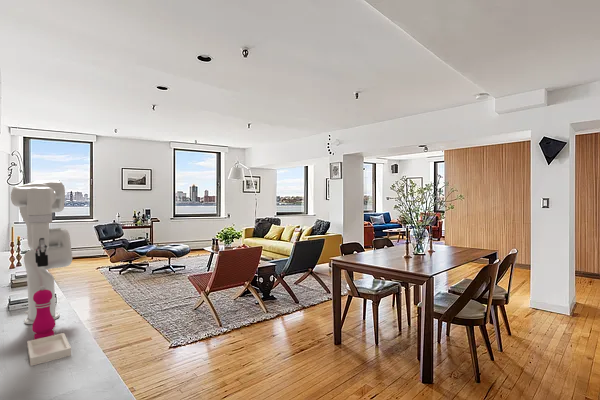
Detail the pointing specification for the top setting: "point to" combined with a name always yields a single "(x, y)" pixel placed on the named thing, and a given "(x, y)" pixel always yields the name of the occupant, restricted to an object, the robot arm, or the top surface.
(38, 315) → the pepper mill
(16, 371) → the top surface
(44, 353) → the tray
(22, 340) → the top surface
